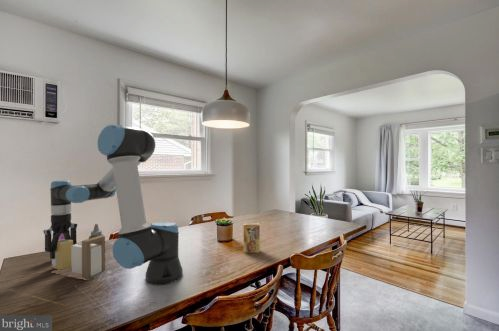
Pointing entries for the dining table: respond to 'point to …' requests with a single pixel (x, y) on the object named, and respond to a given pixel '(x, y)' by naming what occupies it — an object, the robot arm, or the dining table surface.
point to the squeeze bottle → (96, 232)
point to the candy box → (251, 237)
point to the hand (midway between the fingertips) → (61, 262)
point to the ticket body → (88, 257)
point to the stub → (64, 254)
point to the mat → (98, 274)
